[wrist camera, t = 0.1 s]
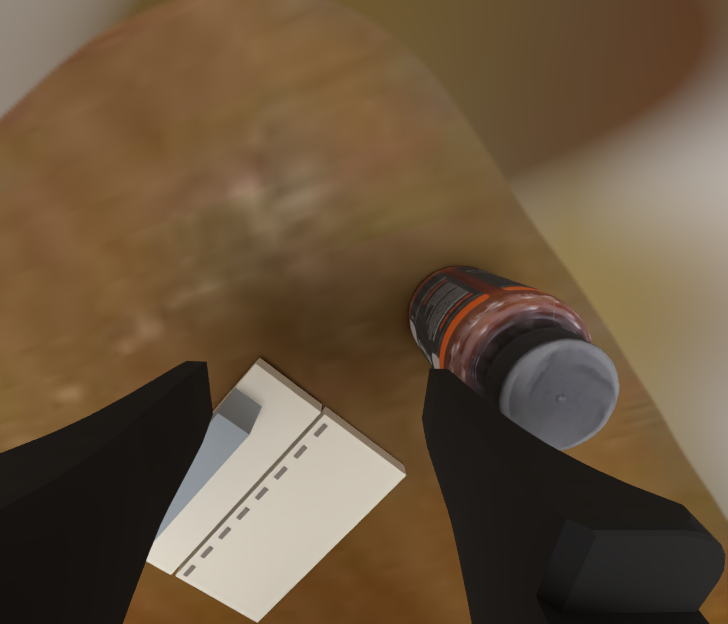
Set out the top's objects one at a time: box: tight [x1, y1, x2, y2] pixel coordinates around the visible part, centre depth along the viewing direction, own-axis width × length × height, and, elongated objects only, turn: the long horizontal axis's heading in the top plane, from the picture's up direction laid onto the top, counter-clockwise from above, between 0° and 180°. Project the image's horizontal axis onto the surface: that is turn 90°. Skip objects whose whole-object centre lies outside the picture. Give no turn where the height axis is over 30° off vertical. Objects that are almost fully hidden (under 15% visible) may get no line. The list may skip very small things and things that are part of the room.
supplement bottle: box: [409, 266, 619, 451], centre depth 17 cm, size 6×6×11 cm
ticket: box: [175, 407, 406, 622], centre depth 25 cm, size 16×7×1 cm, turn 139°
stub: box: [146, 357, 322, 575], centre depth 22 cm, size 16×5×4 cm, turn 139°
